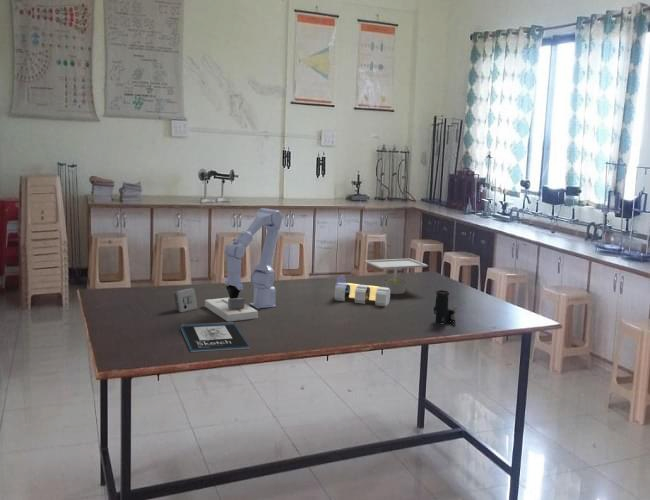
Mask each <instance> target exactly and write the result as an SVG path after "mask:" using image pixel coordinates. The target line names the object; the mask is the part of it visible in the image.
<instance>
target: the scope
mask: <svg viewBox="0 0 650 500" xmlns="http://www.w3.org/2000/svg"><path fill="white" fill-rule="evenodd" d="M435 293H436V296H435V303H434V305H435V306H434V307H433V313H434V315H435V324H438V323H445V322H447V323H449V322H448V321H451V322H453V321H454V322H453V323H456V320H457V318H458V315H457V305H454V309H450V308H449V296H450V292H449V291H448V290H444V289H443V290H437V291H436V292H435ZM451 322H450V323H451ZM445 324H446V323H445Z"/></svg>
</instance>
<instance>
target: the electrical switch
mask: <svg viewBox="0 0 650 500" xmlns="http://www.w3.org/2000/svg"><path fill="white" fill-rule="evenodd" d="M173 296H174V303H175V309H176V311H177V312H180V313H185V312H189V311H193V310H197V309H198V304H197V298H196V297H197V296H196V291H195V288H194V287H191V288H186V289H181V290H177V291H176V292H174V293H173Z"/></svg>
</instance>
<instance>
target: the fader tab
mask: <svg viewBox="0 0 650 500" xmlns="http://www.w3.org/2000/svg"><path fill="white" fill-rule="evenodd" d="M228 298H229V299H228V308H229V309H240V308H244V303H245V298H243V297H242V296H241V297H239V296H238V298H230V297H228Z"/></svg>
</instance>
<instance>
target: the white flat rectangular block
mask: <svg viewBox="0 0 650 500" xmlns="http://www.w3.org/2000/svg"><path fill="white" fill-rule="evenodd" d="M229 298H230V297H223V298H221V297H220V298H213V299H205V300H204V307H205V308H206V309H208V310H209V311H211V312H212V313H214V314H215V315H217V316H218V317H220V318H221V319H223V320H225V321H226V323H228V322H229V323H230V322H235V321H244V320H245V321H246V320H255V319H259V310H257V309H255V307H253V306H251V305H248V304H247V303H245V302H244V308H240V309H229V308H228V299H229Z"/></svg>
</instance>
